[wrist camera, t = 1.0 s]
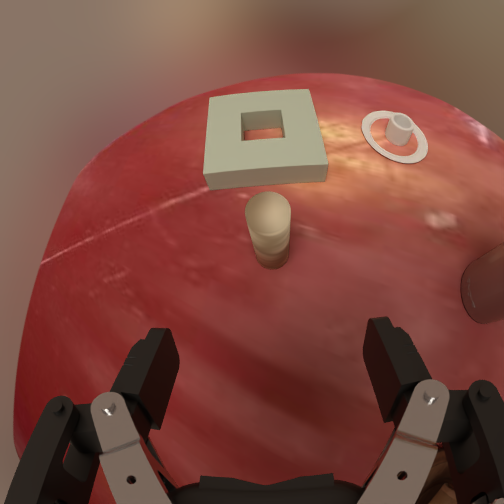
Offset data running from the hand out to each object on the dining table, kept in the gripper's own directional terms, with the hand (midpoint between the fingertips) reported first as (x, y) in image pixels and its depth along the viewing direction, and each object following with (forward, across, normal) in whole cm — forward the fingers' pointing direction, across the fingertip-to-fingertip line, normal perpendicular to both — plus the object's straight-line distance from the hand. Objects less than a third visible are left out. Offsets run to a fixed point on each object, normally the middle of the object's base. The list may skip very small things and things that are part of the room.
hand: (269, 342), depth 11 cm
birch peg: (+24, 0, +7) cm, 25 cm away
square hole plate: (+36, 0, -6) cm, 37 cm away
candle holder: (+37, -22, -6) cm, 44 cm away
